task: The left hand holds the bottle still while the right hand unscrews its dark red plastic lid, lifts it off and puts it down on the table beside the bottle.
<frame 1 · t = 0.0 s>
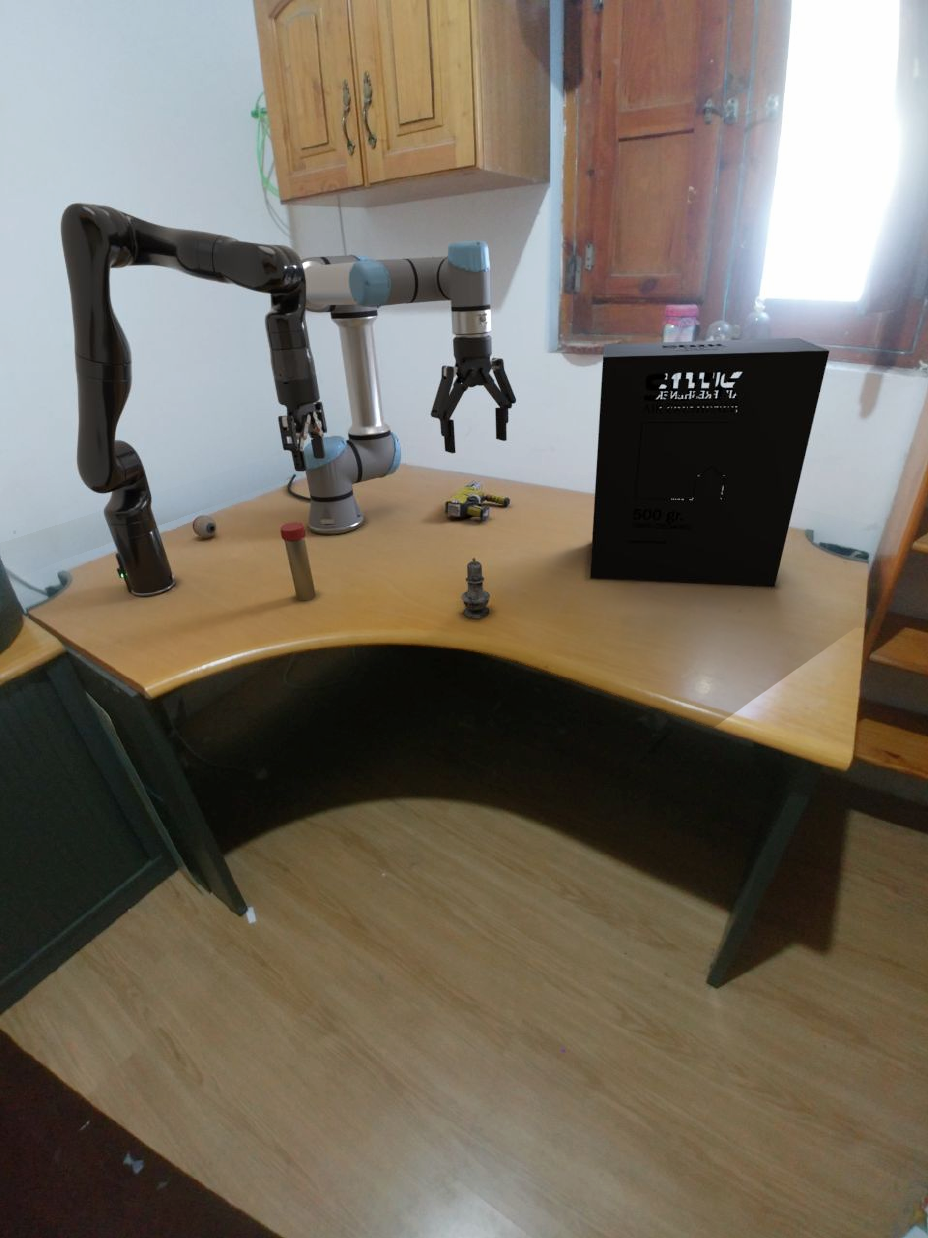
left hand: (310, 464, 116), 29 cm above the table, tool pointing down, fingers open, 8 cm apart
right hand: (476, 445, 127), 28 cm above the table, tool pointing down, fingers open, 13 cm apart
cardboard box: (675, 562, 137), on the table
eyeball: (208, 537, 166), on the table
bottle: (306, 596, 132), on the table
lid: (292, 528, 124), point 16 cm above the table, screwed on, not yet turned
toy gun: (482, 508, 176), on the table
dark grey chess piece: (476, 612, 122), on the table
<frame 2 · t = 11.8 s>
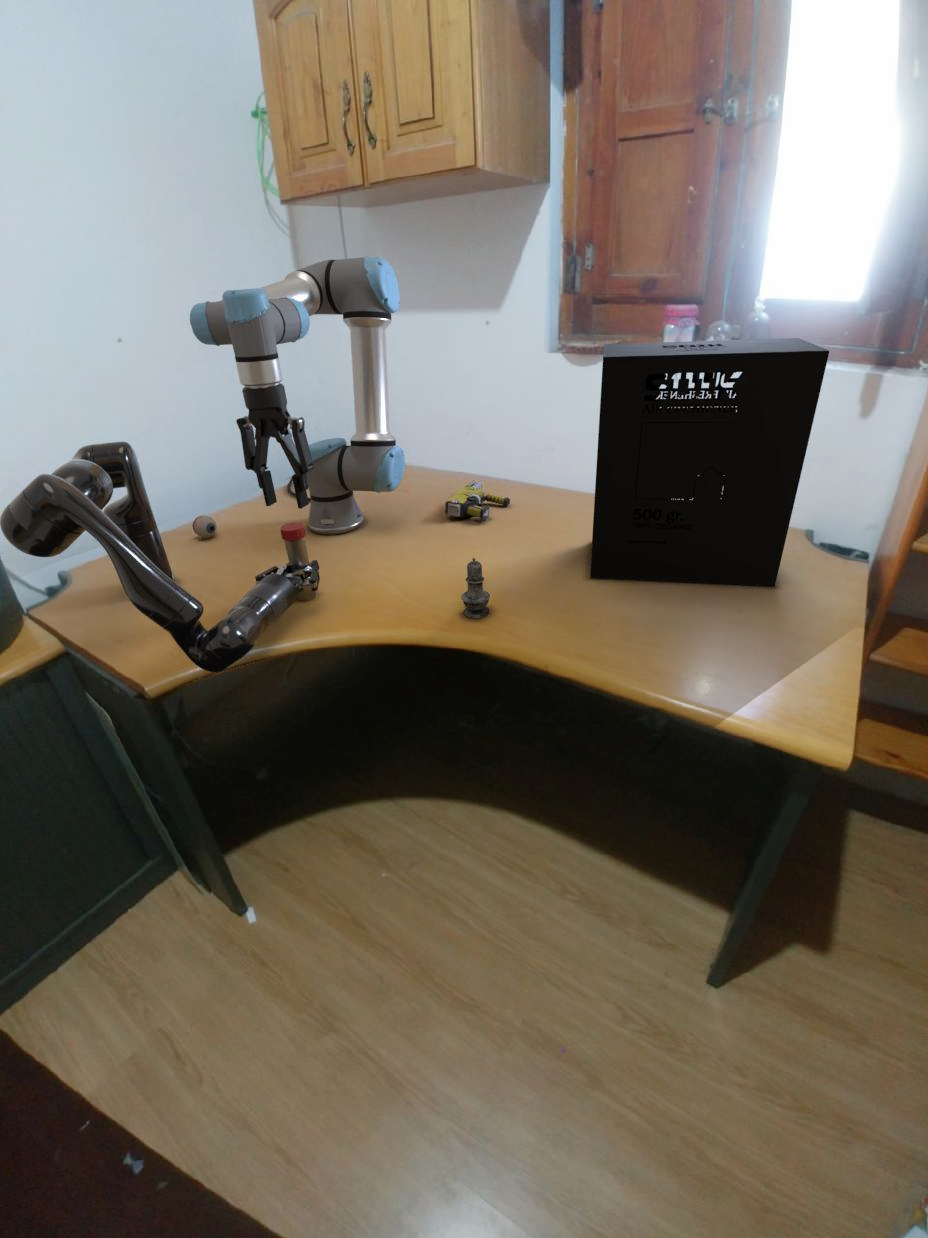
left hand: (305, 563, 131), 7 cm above the table, tool horizontal, fingers closed on bottle, 4 cm apart
right hand: (287, 504, 122), 21 cm above the table, tool pointing down, fingers open, 7 cm apart
bottle: (306, 596, 132), on the table, touching left hand
everything else where it was.
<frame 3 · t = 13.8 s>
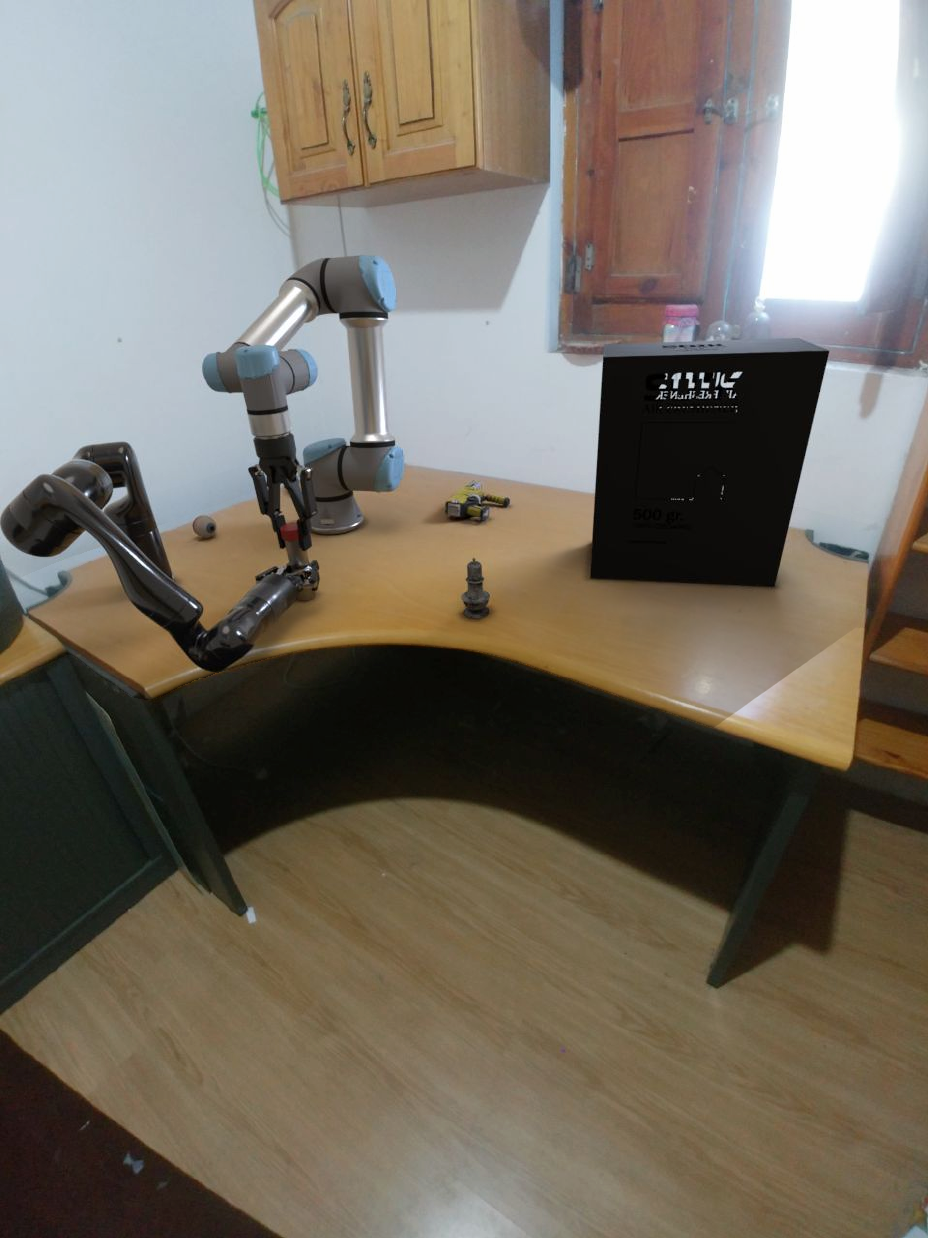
left hand: (305, 563, 131), 7 cm above the table, tool horizontal, fingers closed on bottle, 4 cm apart
right hand: (296, 547, 126), 12 cm above the table, tool pointing down, fingers closed on lid, 5 cm apart
bottle: (306, 596, 132), on the table, touching left hand
lid: (292, 528, 124), point 16 cm above the table, screwed on, not yet turned, touching right hand
everything else where it was.
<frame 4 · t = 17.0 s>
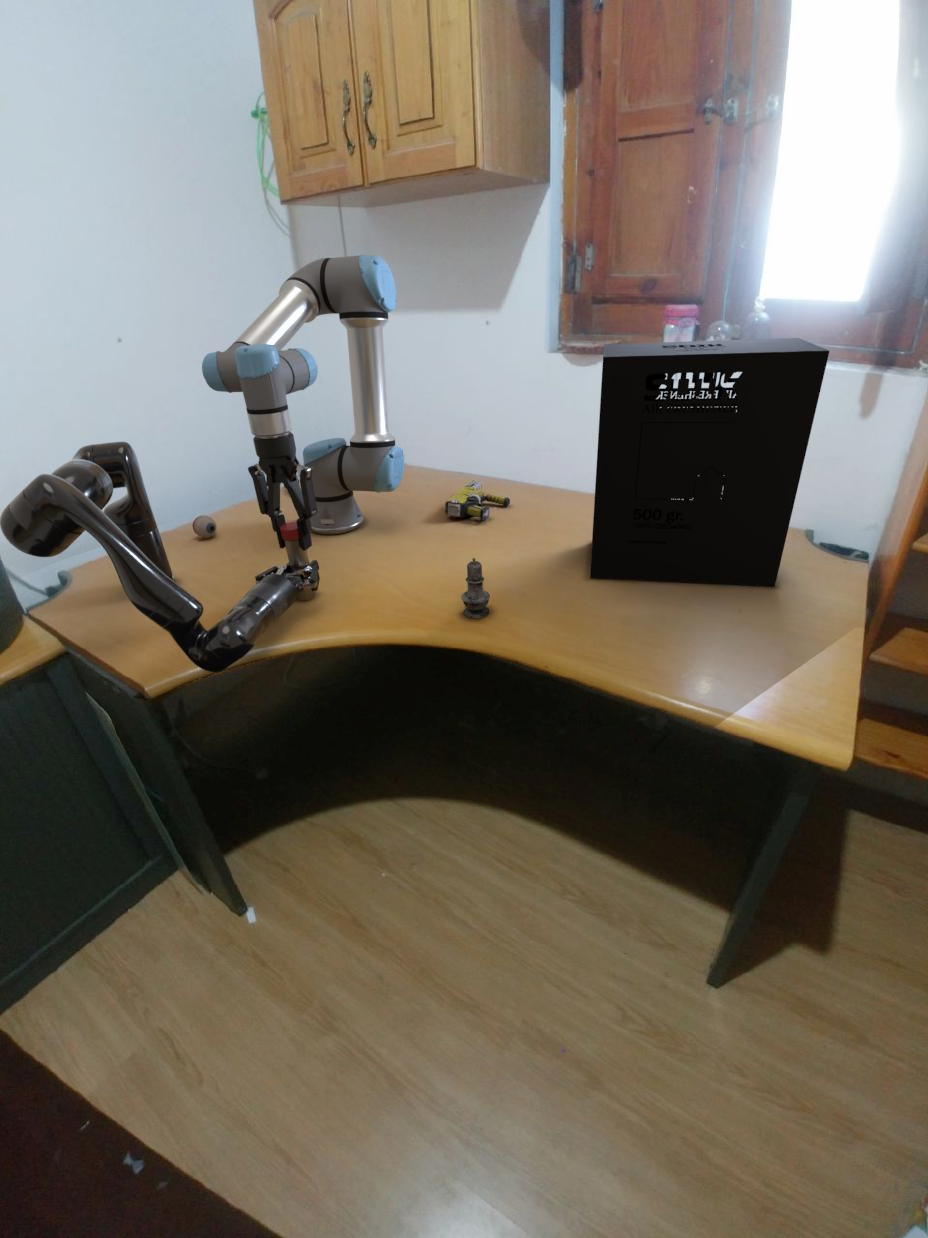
left hand: (305, 563, 131), 7 cm above the table, tool horizontal, fingers closed on bottle, 4 cm apart
right hand: (296, 546, 126), 12 cm above the table, tool pointing down, fingers closed on lid, 5 cm apart
bottle: (306, 596, 132), on the table, touching left hand
lid: (292, 527, 124), point 16 cm above the table, turned 106° so far, risen 0.1 cm, still on its thread, touching right hand
everything else where it was.
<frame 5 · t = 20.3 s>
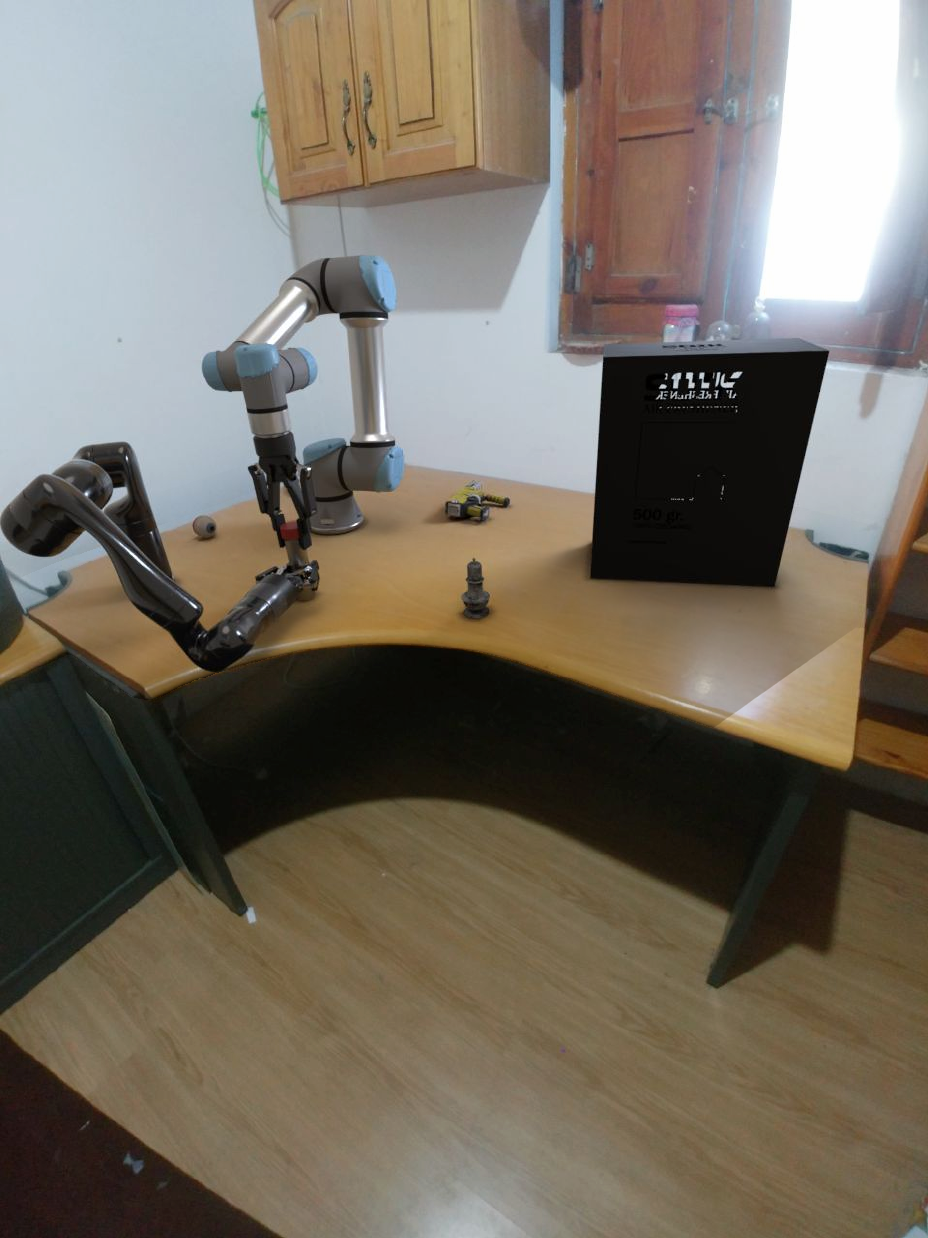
left hand: (305, 563, 131), 7 cm above the table, tool horizontal, fingers closed on bottle, 4 cm apart
right hand: (295, 546, 126), 12 cm above the table, tool pointing down, fingers closed on lid, 5 cm apart
bottle: (306, 596, 132), on the table, touching left hand
lid: (291, 526, 124), point 16 cm above the table, turned 212° so far, risen 0.3 cm, still on its thread, touching right hand
everything else where it was.
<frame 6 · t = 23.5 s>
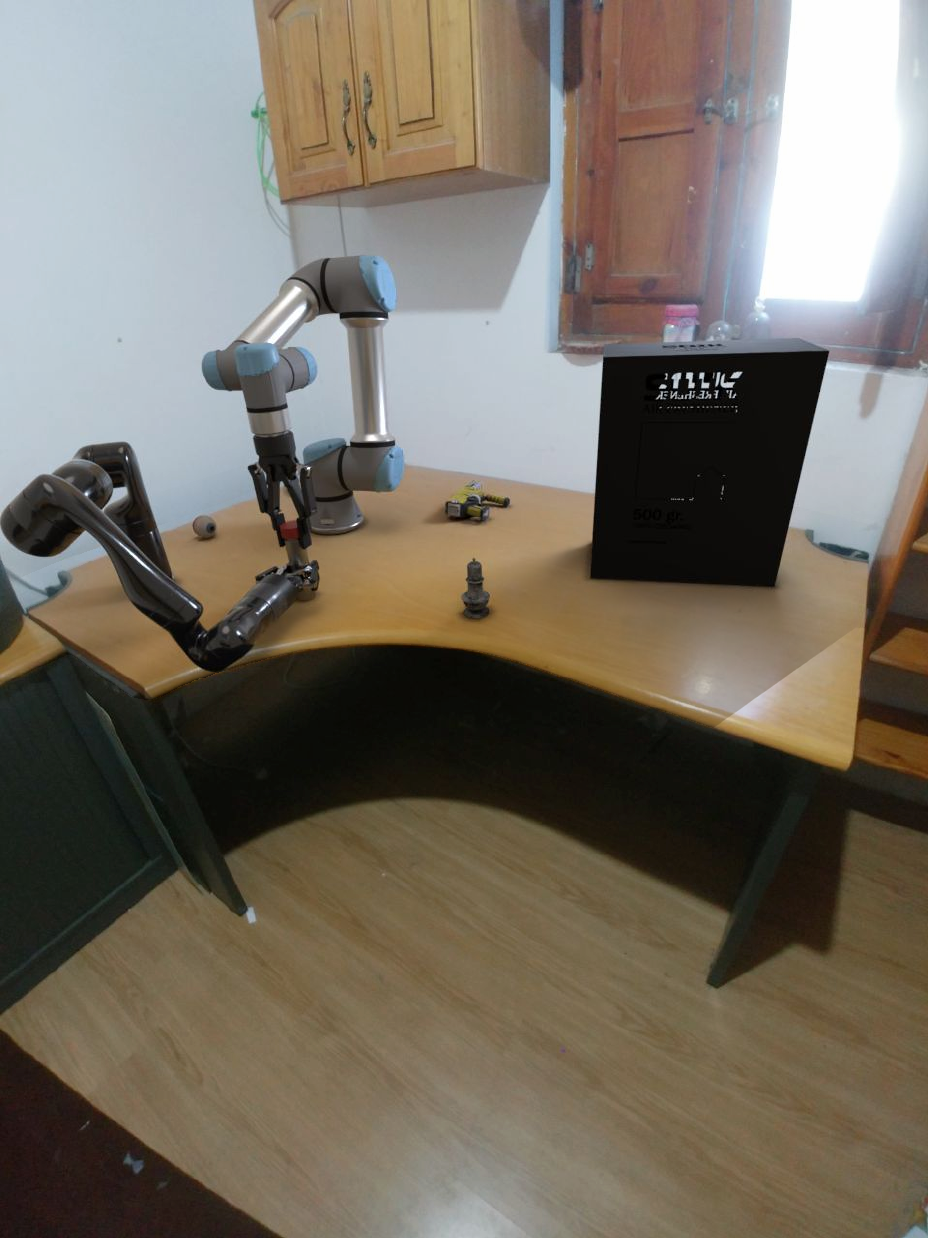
left hand: (305, 563, 131), 7 cm above the table, tool horizontal, fingers closed on bottle, 4 cm apart
right hand: (295, 545, 126), 12 cm above the table, tool pointing down, fingers closed on lid, 5 cm apart
bottle: (306, 596, 132), on the table, touching left hand
lid: (291, 526, 124), point 16 cm above the table, turned 318° so far, risen 0.4 cm, still on its thread, touching right hand
everything else where it was.
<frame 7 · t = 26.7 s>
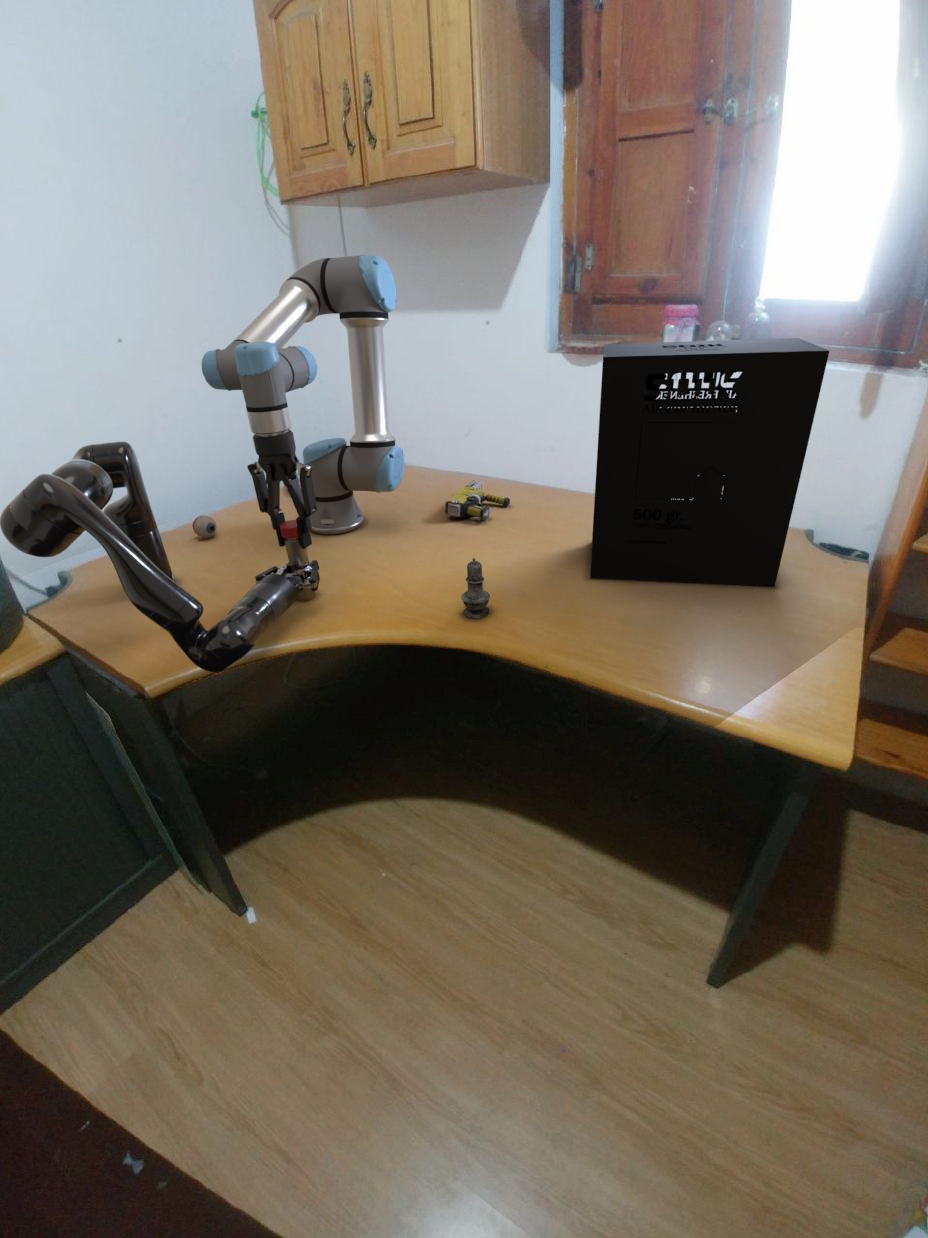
left hand: (305, 563, 131), 7 cm above the table, tool horizontal, fingers closed on bottle, 4 cm apart
right hand: (295, 544, 126), 12 cm above the table, tool pointing down, fingers closed on lid, 5 cm apart
bottle: (306, 596, 132), on the table, touching left hand
lid: (291, 525, 124), point 17 cm above the table, turned 424° so far, risen 0.5 cm, still on its thread, touching right hand
everything else where it was.
when the right hand's fingers open (0 cm above the table, at t = 32.5 s): lid stays where it is, point 2 cm above the table.
when the left hand's fingers open (7 cm above the table, at t = 33.6 s): bottle stays where it is, on the table.
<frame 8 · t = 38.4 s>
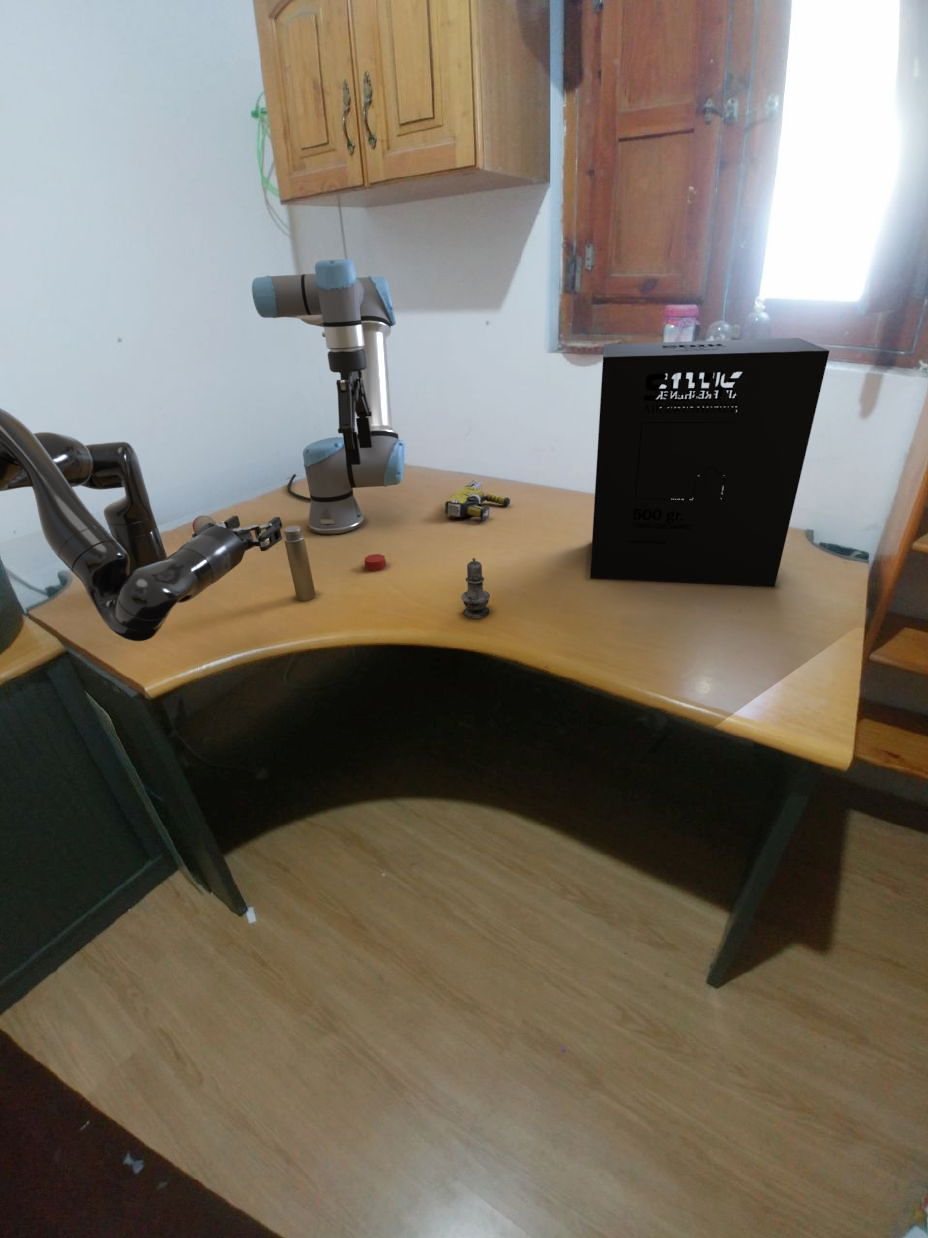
left hand: (258, 521, 112), 22 cm above the table, tool horizontal, fingers open, 8 cm apart
right hand: (360, 455, 131), 26 cm above the table, tool pointing down, fingers open, 13 cm apart
bottle: (306, 596, 132), on the table
lid: (374, 559, 143), point 2 cm above the table, off its thread
everything else where it was.
at the end: lid came off its thread; lid point 1.9 cm above the table; the left hand is holding nothing; the right hand is holding nothing; bottle tilted 0°; bottle moved 0.1 cm from its start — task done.
